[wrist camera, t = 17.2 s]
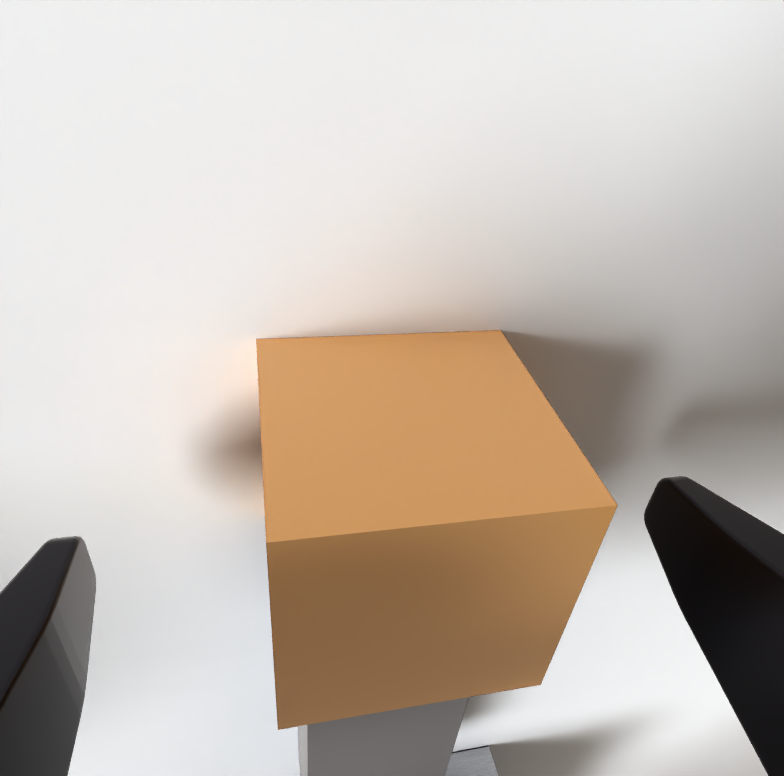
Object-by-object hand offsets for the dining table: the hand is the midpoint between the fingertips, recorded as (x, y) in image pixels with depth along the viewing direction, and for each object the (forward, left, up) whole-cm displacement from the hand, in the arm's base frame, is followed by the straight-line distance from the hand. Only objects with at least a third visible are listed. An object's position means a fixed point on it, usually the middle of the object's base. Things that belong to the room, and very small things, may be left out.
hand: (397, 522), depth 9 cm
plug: (-2, -4, -2) cm, 5 cm away
